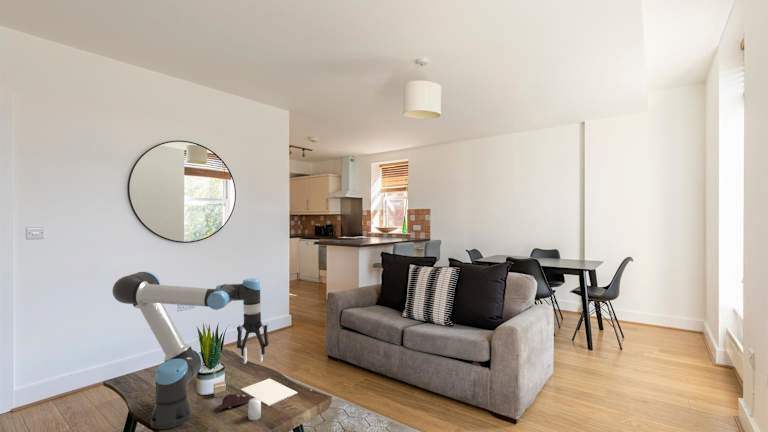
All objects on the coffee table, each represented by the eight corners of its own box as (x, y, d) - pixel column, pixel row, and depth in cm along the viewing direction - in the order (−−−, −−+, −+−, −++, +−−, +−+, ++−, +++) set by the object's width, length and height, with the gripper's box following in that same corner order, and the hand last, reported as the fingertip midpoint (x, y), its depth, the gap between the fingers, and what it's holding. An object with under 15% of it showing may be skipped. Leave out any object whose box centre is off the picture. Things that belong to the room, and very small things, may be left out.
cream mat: (297, 393, 182) (297, 392, 182) (268, 406, 169) (268, 405, 169) (269, 379, 197) (269, 378, 197) (240, 390, 185) (240, 389, 185)
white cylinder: (259, 420, 158) (259, 403, 158) (246, 420, 157) (247, 403, 158) (262, 414, 163) (262, 397, 163) (250, 414, 162) (250, 398, 163)
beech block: (225, 395, 180) (226, 385, 180) (214, 397, 177) (214, 387, 177) (224, 391, 184) (224, 381, 184) (213, 393, 182) (213, 383, 182)
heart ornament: (219, 415, 166) (225, 393, 175) (247, 416, 168) (252, 394, 178) (219, 406, 163) (225, 384, 172) (248, 407, 165) (252, 385, 174)
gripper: (275, 309, 180) (276, 357, 180) (232, 311, 178) (233, 360, 178) (272, 313, 172) (273, 363, 173) (228, 315, 170) (229, 366, 170)
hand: (253, 362), depth 175 cm, fingers open, 6 cm apart
